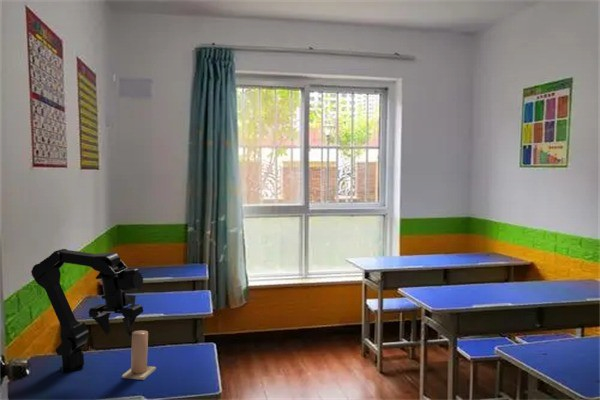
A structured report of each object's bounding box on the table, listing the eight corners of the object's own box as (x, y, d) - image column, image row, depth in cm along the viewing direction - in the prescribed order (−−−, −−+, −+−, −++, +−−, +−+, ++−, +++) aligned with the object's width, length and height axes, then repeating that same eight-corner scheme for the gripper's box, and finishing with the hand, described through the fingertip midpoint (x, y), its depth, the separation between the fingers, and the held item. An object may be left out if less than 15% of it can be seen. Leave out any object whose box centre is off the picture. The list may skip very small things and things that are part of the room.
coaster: (122, 377, 159) (121, 375, 159) (135, 367, 167) (134, 364, 167) (143, 379, 158) (143, 377, 158) (155, 369, 166) (155, 366, 166)
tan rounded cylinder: (132, 374, 159) (133, 336, 158) (129, 368, 163) (130, 331, 163) (148, 372, 161) (149, 334, 161) (145, 366, 166) (146, 329, 165)
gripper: (150, 283, 166) (156, 327, 167) (108, 284, 172) (114, 326, 173) (128, 293, 155) (135, 339, 156) (84, 293, 162) (91, 337, 163)
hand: (119, 335), depth 163 cm, fingers open, 9 cm apart
